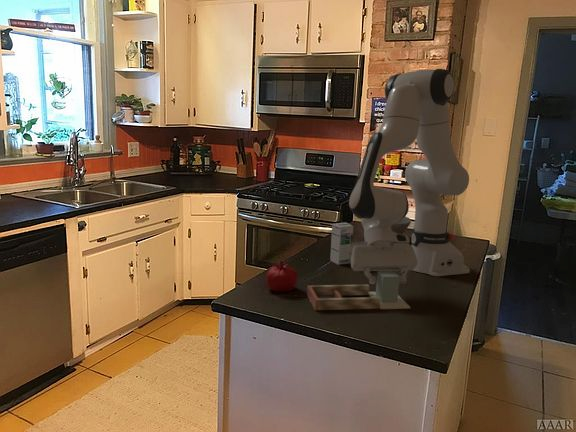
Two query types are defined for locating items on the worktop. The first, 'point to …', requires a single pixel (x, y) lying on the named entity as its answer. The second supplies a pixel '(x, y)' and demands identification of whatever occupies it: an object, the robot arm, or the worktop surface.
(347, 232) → the syrup box
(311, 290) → the box
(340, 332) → the worktop surface
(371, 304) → the wooden divided tray
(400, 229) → the ceramic bowl
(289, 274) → the pomegranate
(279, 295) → the worktop surface
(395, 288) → the grey-green block
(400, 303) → the pad
